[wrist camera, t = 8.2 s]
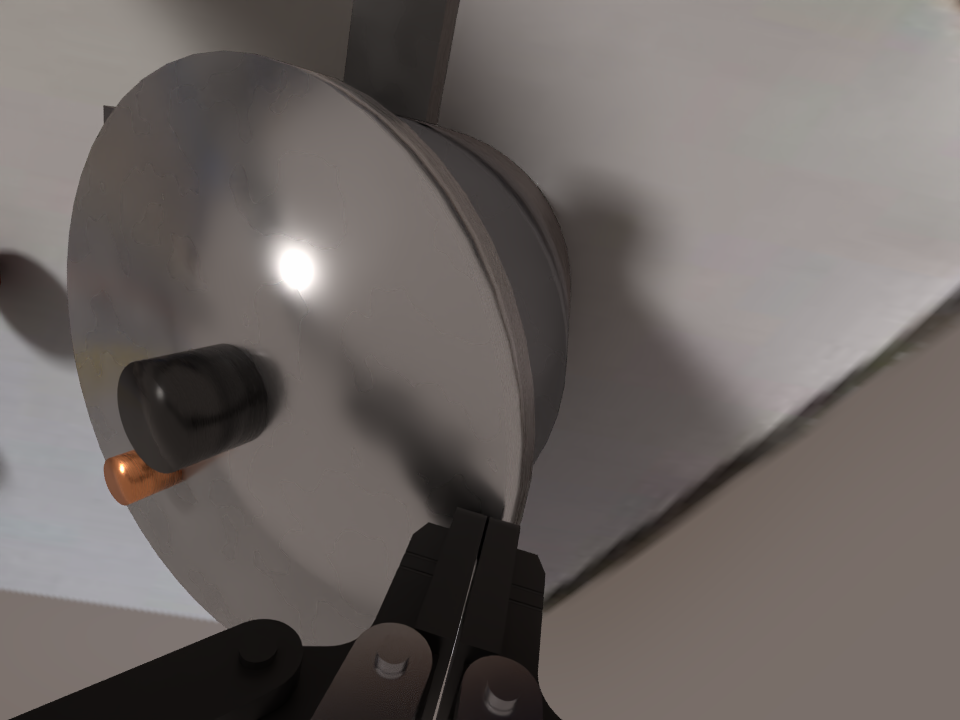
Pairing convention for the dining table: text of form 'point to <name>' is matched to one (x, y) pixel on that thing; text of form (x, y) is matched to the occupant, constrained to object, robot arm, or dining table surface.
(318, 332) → the cooker lid
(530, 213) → the cooker pot
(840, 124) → the dining table surface
